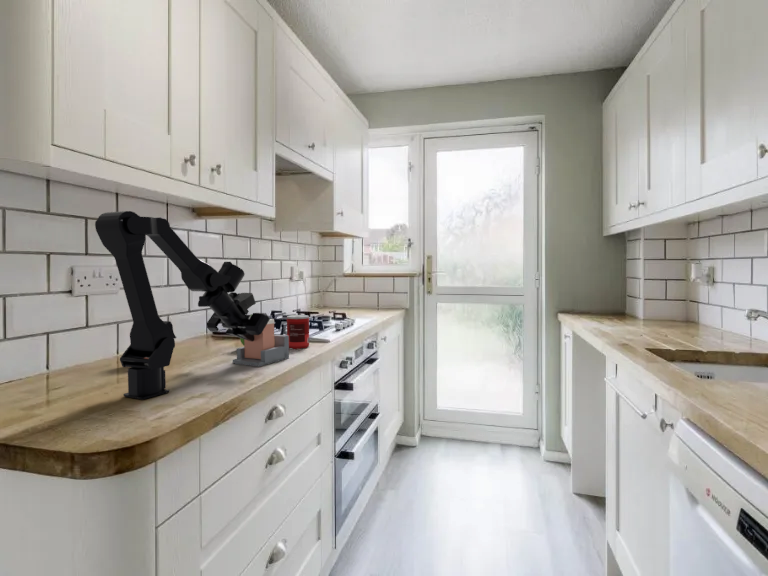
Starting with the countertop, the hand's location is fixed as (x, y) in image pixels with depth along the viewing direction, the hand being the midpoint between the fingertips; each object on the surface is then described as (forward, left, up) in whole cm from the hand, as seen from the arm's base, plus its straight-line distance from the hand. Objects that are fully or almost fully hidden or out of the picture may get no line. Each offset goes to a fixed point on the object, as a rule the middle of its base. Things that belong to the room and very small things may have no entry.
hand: (252, 340), depth 126 cm
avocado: (+17, +16, -7) cm, 24 cm away
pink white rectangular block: (+3, 0, -5) cm, 6 cm away
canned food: (+27, +4, -7) cm, 28 cm away
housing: (+3, 0, -7) cm, 7 cm away
